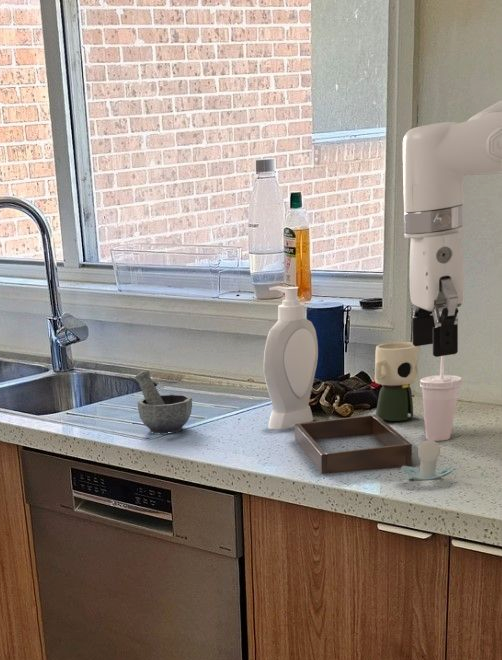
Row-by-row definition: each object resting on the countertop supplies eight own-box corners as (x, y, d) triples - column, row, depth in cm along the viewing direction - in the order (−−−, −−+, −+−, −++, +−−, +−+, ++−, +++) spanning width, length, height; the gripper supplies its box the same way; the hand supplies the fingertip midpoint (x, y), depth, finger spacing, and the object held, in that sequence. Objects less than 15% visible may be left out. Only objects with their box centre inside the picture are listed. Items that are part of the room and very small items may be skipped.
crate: (376, 434, 208) (376, 414, 207) (411, 466, 187) (412, 444, 186) (295, 443, 209) (294, 423, 208) (321, 476, 189) (321, 454, 188)
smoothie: (419, 443, 198) (423, 356, 193) (415, 434, 204) (419, 349, 198) (461, 441, 197) (466, 353, 191) (456, 432, 202) (461, 346, 197)
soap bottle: (296, 416, 228) (296, 280, 218) (327, 421, 222) (329, 282, 212) (244, 430, 222) (242, 291, 212) (275, 435, 216) (274, 293, 206)
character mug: (392, 429, 210) (395, 352, 205) (357, 424, 215) (359, 349, 210) (430, 415, 215) (434, 341, 210) (396, 411, 221) (399, 338, 215)
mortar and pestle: (202, 433, 226) (201, 368, 221) (172, 445, 220) (169, 378, 216) (154, 428, 234) (152, 365, 229) (123, 439, 228) (120, 375, 223)
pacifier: (450, 491, 174) (455, 479, 179) (452, 449, 171) (458, 437, 176) (396, 490, 177) (403, 477, 182) (397, 448, 175) (405, 436, 179)
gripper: (483, 221, 157) (482, 355, 164) (442, 214, 173) (442, 337, 180) (423, 231, 158) (425, 363, 165) (388, 223, 174) (390, 345, 180)
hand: (434, 349), depth 172 cm, fingers open, 9 cm apart
